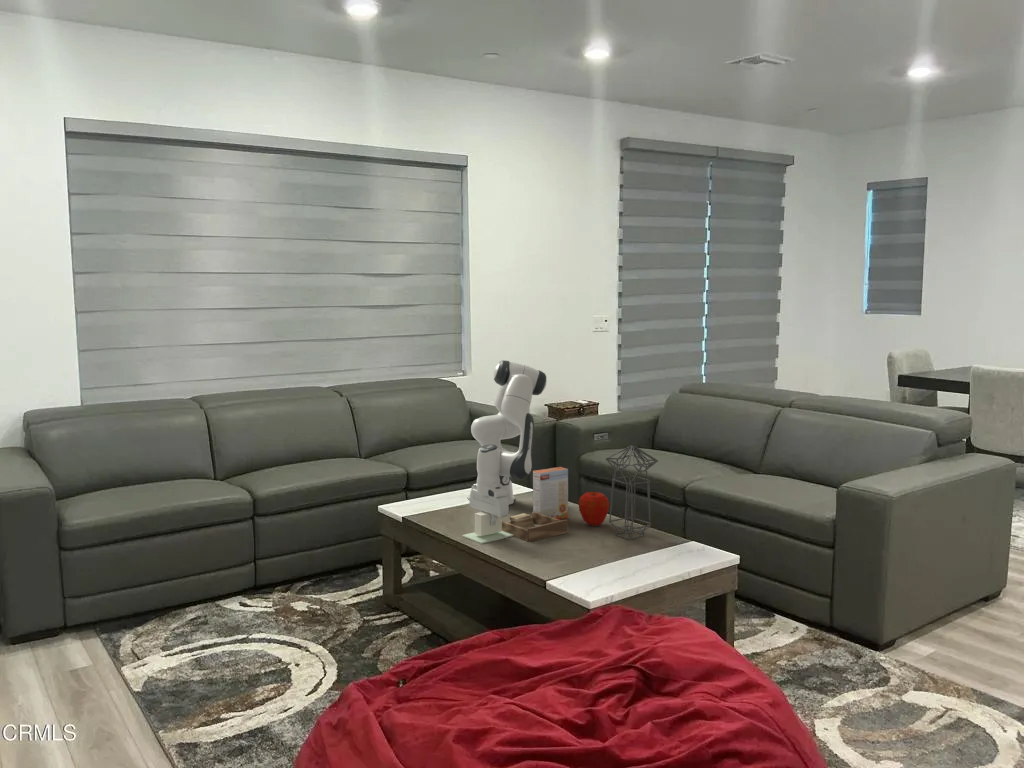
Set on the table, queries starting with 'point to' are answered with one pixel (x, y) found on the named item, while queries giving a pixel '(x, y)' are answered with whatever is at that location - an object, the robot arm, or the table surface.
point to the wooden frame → (537, 528)
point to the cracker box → (551, 492)
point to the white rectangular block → (486, 524)
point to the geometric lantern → (637, 450)
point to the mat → (487, 537)
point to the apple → (593, 507)
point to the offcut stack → (522, 520)
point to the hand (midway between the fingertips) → (488, 523)
